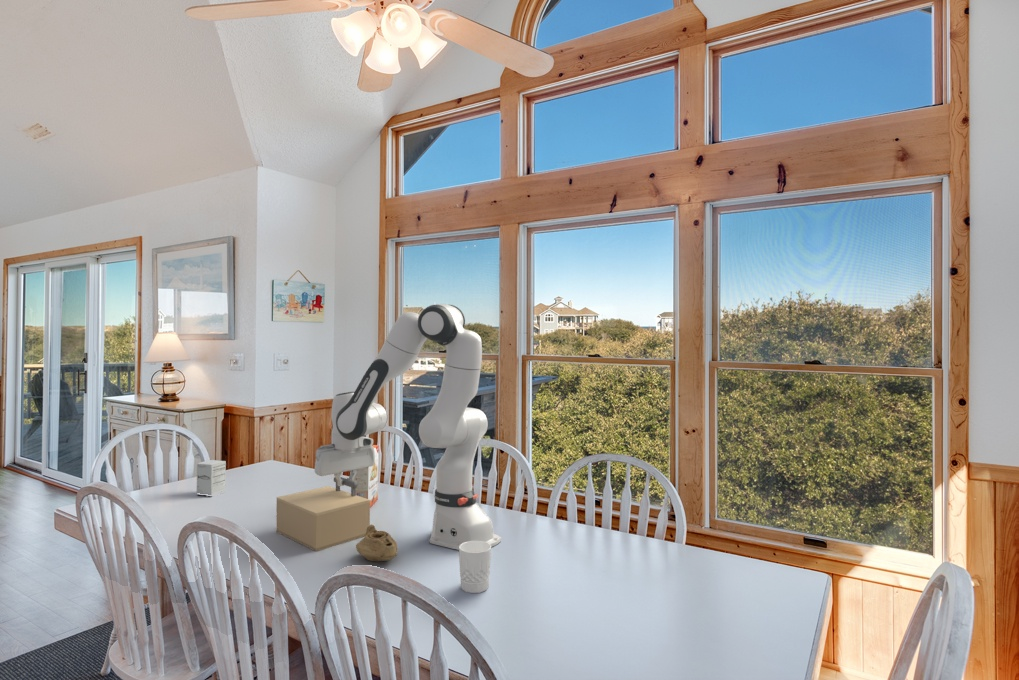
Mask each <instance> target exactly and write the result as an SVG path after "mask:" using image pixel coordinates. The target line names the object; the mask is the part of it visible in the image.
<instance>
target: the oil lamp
mask: <svg viewBox="0 0 1019 680" xmlns="http://www.w3.org/2000/svg"><path fill="white" fill-rule="evenodd" d="M355 549H356V551H357V552H358V553H359V555H361V556H362V557H364V559H366V560H367V561H370V562H383V561H385V562H387V561H391V560H393V559H394V558H396V556H397V554H398V542H397V541H396V540H395V539H394V538H393V537H392V536H391V534H390V533H389V532H388V531H387V532H386V531H384V530H377V529H376V528H375V525H374V524H370V525H369V526H368V527H367V531H366V535H365V536H364V537H362V539H361V540H360V541H359V542H357V543H356V545H355Z"/></svg>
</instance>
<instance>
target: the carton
mask: <svg viewBox="0 0 1019 680" xmlns="http://www.w3.org/2000/svg"><path fill="white" fill-rule="evenodd" d="M370 509H371V507H370V502H369V503H365V504H362V505H358V506H354V507H350V508H346V509H342V510H338V511H334V512H330V513H327V514H323V515H319V516H315V515H312V514H310V513H307V512H305V511H303V510H300V509H298V508H295V507H293V506H290V505H288V504H285V503H283V502H281V501H278V500H277V499H276V523H275V524H276V526H275V527H276V533H278V534H280V535H282V536H284V537H286V538H288V539H291V540H292V541H294V542H296V543H299V544H301V545H302V546H305V547H306V548H309V549H311V550H312V551H315V552H319V551H321V550H324V549H328V548H332V547H334V546H337V545H338V546H339V545H340V544H344V543H347V542H352V541H353V540H358V539H361V538H364V537H365V535H366V531H367V527H368V526H369V525H371V524H370V523H371V522H370V521H371V519H370V518H371V516H370V515H371V514H370V513H371V512H370V511H371V510H370Z"/></svg>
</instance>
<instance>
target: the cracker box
mask: <svg viewBox="0 0 1019 680" xmlns="http://www.w3.org/2000/svg"><path fill="white" fill-rule="evenodd" d="M371 446H373V448H374V452H375V463H374V465H373V466H371V467H366V468H361V469H357V473H356V475H355V477H354V481H355V482H357V483H358V486H357V487H356V495H357V496H360V497H363V498H366V499H369V500H370V508H372V507H373V505H374V504H375V503H376V502H377V501H378V499H379V456H380V455H379V450H380V446H379V445H377V444H373V445H371Z"/></svg>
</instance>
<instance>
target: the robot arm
mask: <svg viewBox="0 0 1019 680" xmlns="http://www.w3.org/2000/svg"><path fill="white" fill-rule="evenodd" d="M465 325H466V318H465V315H464V313H463V311H462V310H461V309H460V308H459V307H457V306H455V305H453V304H446V303H437V304H431V305H429V306H427V307H425V308H424V309H422V311H421V312H420V313H417V312H414V311H405V312H403V313H401V314H400V316H398V318H397V319H396V321H395V322H394V324H392V327H391V329H390V331H389V333H388V334H387V336H386V339H385V340H384V342H383V345H382V347H381V348H380V350H379V352H378V354H377V355H376V357H375V359H374V360H373V361H372V363H371V364H370V365H369V367H368V369H367V370H366V372H365V373H364V375H363V376H362V378H361V380H360V382H359V383H358V385H357V387H356V389H355V390H354V391H348V392H342V393H341V392H340V393H338V394H336V395H334V397H333V398H332V403H331V416H330V418H331V423H332V424H331V425H332V429H331V432H330V433H331V443H330V444H326V445H320V446H319V447H318V448H317V449H316V450H315V462H314V473H315V474H316V475H317V476H319V477H325V476H330V475H331V476H332V475H333V476H334V477H335V478H336V479H337V485H338V486H340V487H343V486H345V485H344V480H342V479H341V476H342V473H344V472H349V473H350V474H349V476H348V477H346V479H349V480H352V481H354V477H355V475H356V473H357V469H361V468H366V467H371V466H373V465H374V463H375V452H374V448H373V446H371V445H374V439H373V438H372V437H371V438H370V437H367V435H371V434H374V433H377V432H379V431H381V430H383V429H384V428H385V426H386V424H387V422H388V413H387V410H386V408H385V406H383V405H382V404H381V403H378V402H374V401H375V399H376V398H377V396H378V395H379V392H380V391H381V389H382V388H383V387H384V386H385V385H386V384H388V383H389V382H390V381H392V380H393V379H396V378H397V377H399V376H401V375H404V374H405V373H406V374H407V373H408V371H410V369H411V367H413V366H414V364H415V362H416V361H417V359H418V357H419V354H420V353H421V350H422V348H423V346H424V344H425V342H426V341H427V340H430V341H432V342H434V343H437V345H440V346H445V348H446V351H445V352H446V354H445V361H444V362H445V363H444V367H443V368H444V369H443V375H442V376H443V377H442V382H441V386H440V390H439V392H438V396H437V398H436V400H435V402H434V404H433V406H432V407H431V409H430V411H429V412H428V413H427V414H426V415H425V416H424V417H423V418H422V419H421V421H420V423H419V425H418V437H419V439H420V441H421V442H422V444H424V445H425V446H426V447H428V448H432V449H434V448H435V449H445V452H444V454H443V455H442V457H440V459H439V461H437V464H436V472H435V473H436V476H435V477H436V478H435V480H436V484H435V485H436V487H435V490H434V503H435V509H434V514H433V519H432V520H433V521H432V529H431V532H430V538H429V544H432V545H436V546H441V547H444V548H449V549H453V550H457V551H459V546H460V545H461V544H462V543H464V542H468V541H483V542H487V543H489V544H490V545H491V548H493V547H494V546H497V545H498V544H499V543H500V542H501V541H502V537H501V536H500V535H498V534H496V533H494V527H493V522H492V519H491V518H490V517H489V516H488V514H487V513H486V512H485V511H484V510H483V509H482V507H480V506H479V503H477V499H479V495H480V494H477V493H476V494H475V491H474V488H473V468H474V462H475V461H474V460H475V458H476V457H475V456H476V453H477V449H478V448H479V447H478V446H479V444H480V442H481V439H483V436H484V435H486V433H487V430H488V427H489V426H488V425H489V423H488V422H489V421H488V418H487V416H486V414H485V413H484V411H482V410H481V409H479V408H474V407H469V406H468V405H469V404H470V403H471V402H472V400H473V399H474V398H475V397H476V396H477V394H478V391H479V384H480V376H481V369H482V360H483V343H482V337H481V336H480V335H479V334H478V333H477V332H475V331H474V330H470V329H466V328H465Z"/></svg>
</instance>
